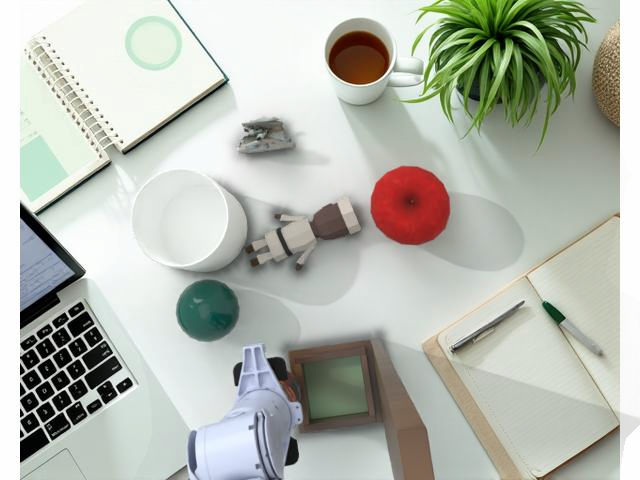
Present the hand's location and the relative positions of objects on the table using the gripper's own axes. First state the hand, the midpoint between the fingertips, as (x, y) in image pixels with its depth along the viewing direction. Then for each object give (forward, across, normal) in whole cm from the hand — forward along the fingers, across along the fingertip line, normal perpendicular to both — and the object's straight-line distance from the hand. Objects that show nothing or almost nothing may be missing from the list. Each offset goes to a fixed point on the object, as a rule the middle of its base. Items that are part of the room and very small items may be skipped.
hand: (274, 401), depth 70 cm
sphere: (+11, +11, +8) cm, 17 cm away
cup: (+11, +22, +8) cm, 26 cm away
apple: (+11, +20, -19) cm, 30 cm away
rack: (+10, -1, -7) cm, 13 cm away
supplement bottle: (+5, 0, 0) cm, 5 cm away
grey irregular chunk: (+11, +33, -2) cm, 35 cm away
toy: (+11, +19, -5) cm, 23 cm away
